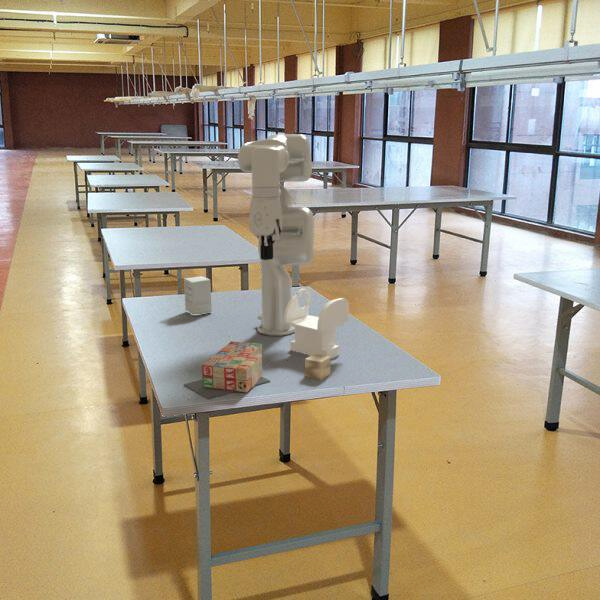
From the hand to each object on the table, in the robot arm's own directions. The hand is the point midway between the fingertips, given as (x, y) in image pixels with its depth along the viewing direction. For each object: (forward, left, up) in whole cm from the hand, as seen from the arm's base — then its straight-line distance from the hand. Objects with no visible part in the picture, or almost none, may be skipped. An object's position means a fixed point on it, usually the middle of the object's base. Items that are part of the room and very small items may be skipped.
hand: (266, 259), depth 192 cm
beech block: (+20, +2, -29) cm, 35 cm away
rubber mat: (+10, -21, -29) cm, 37 cm away
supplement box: (-55, +9, -29) cm, 63 cm away
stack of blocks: (+3, -19, -26) cm, 32 cm away
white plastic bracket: (+5, +14, -29) cm, 33 cm away
